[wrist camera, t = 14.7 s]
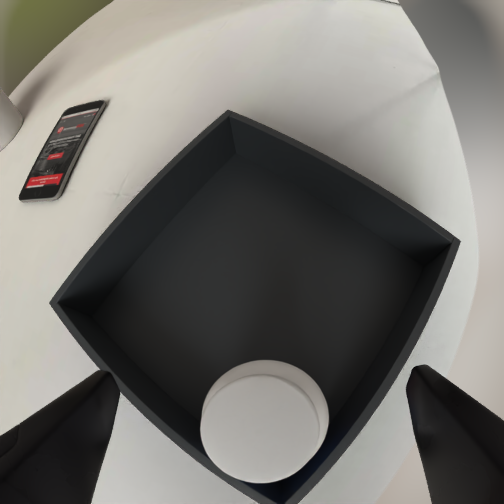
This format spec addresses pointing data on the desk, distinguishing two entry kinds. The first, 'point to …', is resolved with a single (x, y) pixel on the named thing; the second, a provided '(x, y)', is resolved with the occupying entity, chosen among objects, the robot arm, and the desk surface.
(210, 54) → the desk surface
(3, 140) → the mug
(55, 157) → the smartphone
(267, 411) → the pill bottle
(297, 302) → the dark grey storage tray
